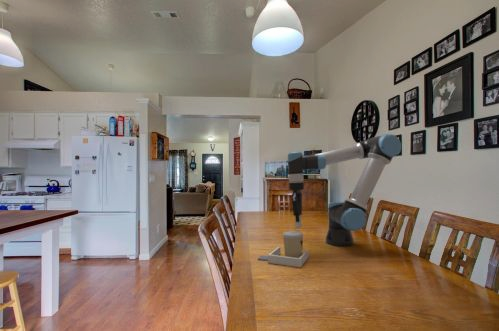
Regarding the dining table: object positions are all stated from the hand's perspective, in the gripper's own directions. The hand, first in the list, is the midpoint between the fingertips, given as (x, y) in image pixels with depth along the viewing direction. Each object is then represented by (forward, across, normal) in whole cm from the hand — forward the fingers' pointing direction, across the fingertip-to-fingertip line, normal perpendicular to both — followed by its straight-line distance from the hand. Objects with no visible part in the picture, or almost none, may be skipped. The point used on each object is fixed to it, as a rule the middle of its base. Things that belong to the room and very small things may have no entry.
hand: (298, 227), depth 141 cm
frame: (+12, +15, -1) cm, 19 cm away
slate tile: (+12, +18, -12) cm, 25 cm away
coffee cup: (+12, +13, 0) cm, 18 cm away
